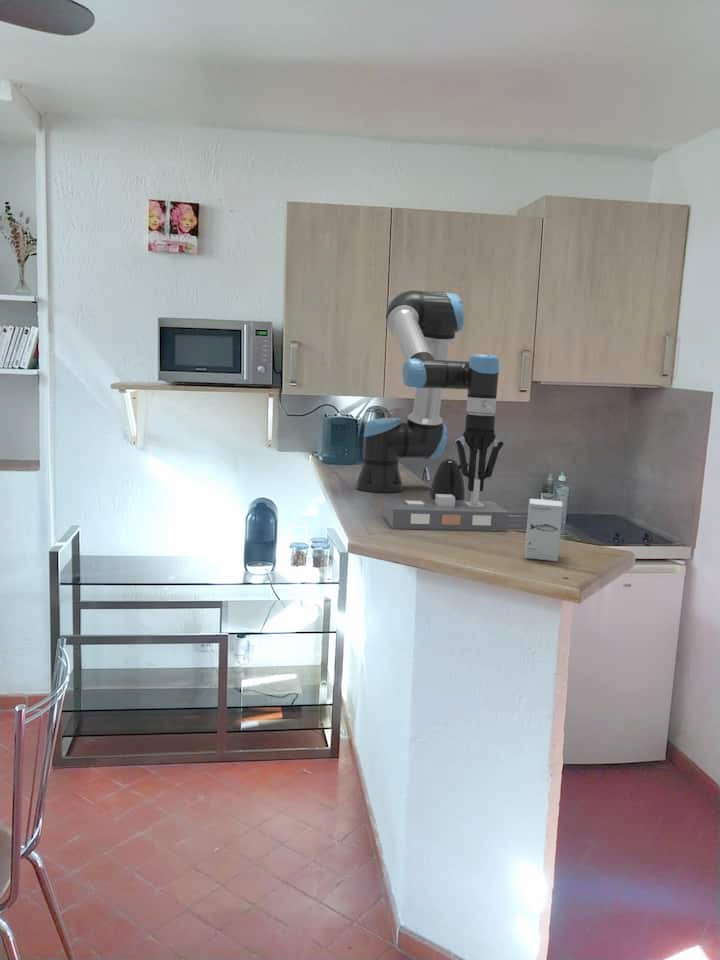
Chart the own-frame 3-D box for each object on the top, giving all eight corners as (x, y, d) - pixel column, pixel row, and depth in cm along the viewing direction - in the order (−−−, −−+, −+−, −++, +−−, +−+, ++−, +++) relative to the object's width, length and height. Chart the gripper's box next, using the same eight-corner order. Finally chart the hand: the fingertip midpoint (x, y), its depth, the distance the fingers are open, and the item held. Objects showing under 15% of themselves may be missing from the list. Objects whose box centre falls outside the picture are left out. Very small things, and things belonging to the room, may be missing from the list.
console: (383, 516, 216) (384, 498, 215) (490, 518, 219) (491, 501, 219) (392, 529, 200) (393, 509, 199) (507, 531, 203) (509, 512, 203)
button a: (404, 516, 211) (405, 500, 210) (420, 516, 211) (421, 501, 210) (407, 519, 206) (408, 503, 206) (423, 520, 207) (424, 504, 206)
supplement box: (523, 559, 175) (528, 502, 174) (524, 551, 183) (529, 497, 181) (558, 562, 174) (563, 505, 172) (557, 554, 181) (562, 500, 179)
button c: (463, 517, 212) (464, 502, 212) (479, 518, 213) (480, 502, 212) (467, 521, 208) (468, 505, 208) (483, 521, 209) (484, 505, 208)
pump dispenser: (463, 515, 222) (467, 462, 220) (427, 512, 224) (430, 459, 222) (466, 509, 232) (470, 458, 230) (431, 506, 234) (434, 455, 232)
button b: (434, 509, 211) (435, 494, 211) (450, 510, 212) (451, 494, 211) (437, 513, 207) (438, 496, 206) (454, 513, 207) (455, 497, 207)
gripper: (459, 414, 202) (453, 505, 205) (509, 416, 203) (502, 506, 207) (453, 412, 209) (447, 499, 213) (500, 414, 211) (494, 501, 214)
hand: (474, 503), depth 210 cm, fingers closed
